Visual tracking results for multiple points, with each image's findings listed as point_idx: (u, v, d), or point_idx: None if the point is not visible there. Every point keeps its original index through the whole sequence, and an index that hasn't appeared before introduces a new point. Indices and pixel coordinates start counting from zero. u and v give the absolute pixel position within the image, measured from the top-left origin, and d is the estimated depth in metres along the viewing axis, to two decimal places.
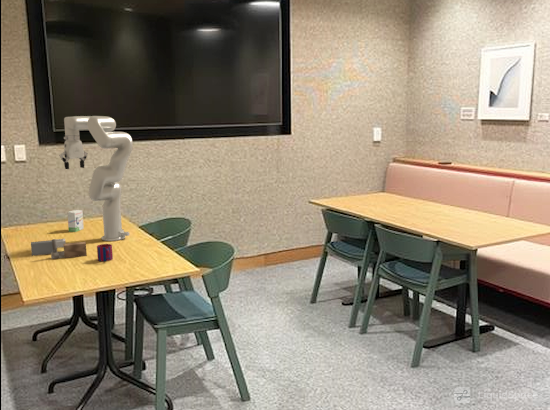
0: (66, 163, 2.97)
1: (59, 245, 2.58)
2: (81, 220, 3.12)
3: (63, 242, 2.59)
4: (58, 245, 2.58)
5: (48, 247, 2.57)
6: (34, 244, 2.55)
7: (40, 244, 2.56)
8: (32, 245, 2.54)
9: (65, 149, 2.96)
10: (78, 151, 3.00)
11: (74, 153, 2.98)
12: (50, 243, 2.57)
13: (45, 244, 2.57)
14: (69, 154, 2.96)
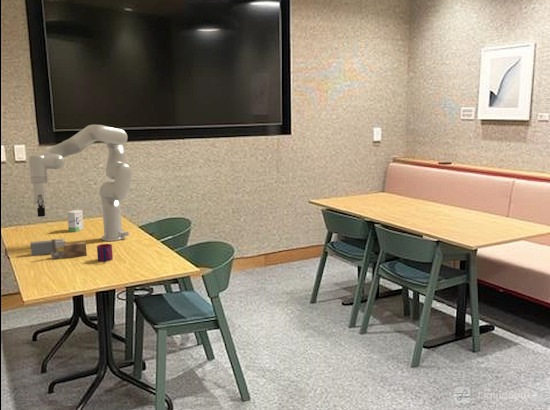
0: None
1: (59, 245, 2.58)
2: (81, 220, 3.12)
3: (63, 242, 2.59)
4: (58, 245, 2.58)
5: (48, 247, 2.57)
6: (34, 244, 2.55)
7: (40, 244, 2.56)
8: (32, 245, 2.54)
9: None
10: None
11: None
12: (50, 243, 2.57)
13: (45, 244, 2.56)
14: None
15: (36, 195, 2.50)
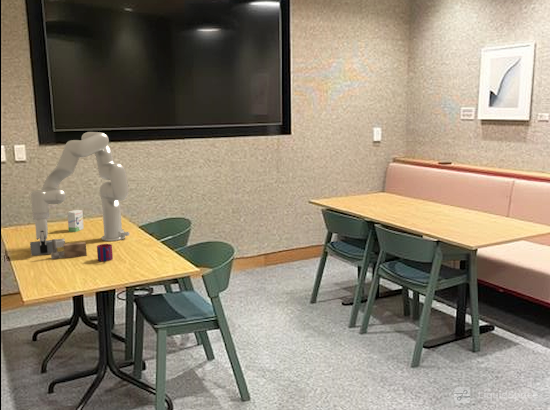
0: None
1: (58, 245, 2.58)
2: (81, 220, 3.12)
3: (62, 242, 2.59)
4: (57, 245, 2.58)
5: (47, 247, 2.57)
6: (33, 244, 2.55)
7: (39, 244, 2.56)
8: (31, 245, 2.54)
9: None
10: None
11: None
12: (49, 243, 2.57)
13: None
14: None
15: (38, 231, 2.52)
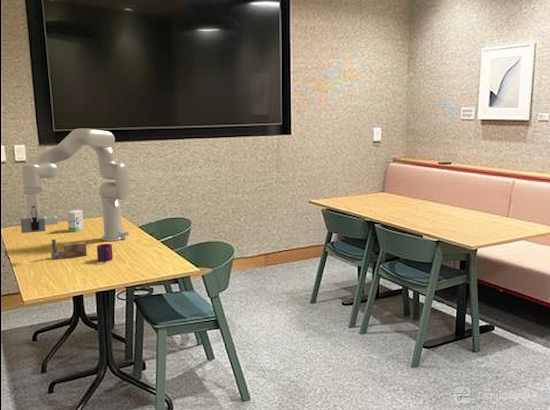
0: None
1: (51, 222, 2.44)
2: (81, 220, 3.12)
3: (55, 219, 2.45)
4: (50, 222, 2.44)
5: (39, 224, 2.43)
6: (24, 221, 2.41)
7: (30, 221, 2.42)
8: (22, 222, 2.40)
9: None
10: None
11: None
12: (41, 220, 2.43)
13: None
14: None
15: (29, 206, 2.38)
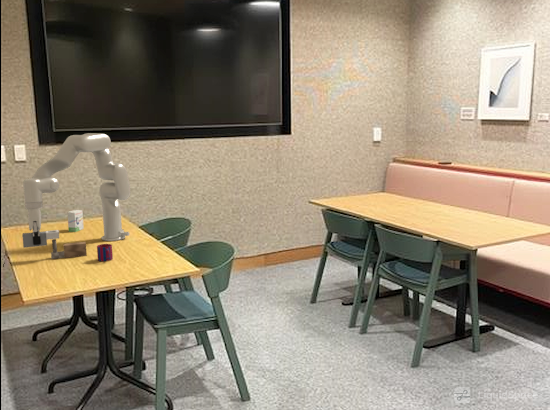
0: None
1: (52, 236, 2.46)
2: (81, 220, 3.12)
3: (56, 233, 2.46)
4: (51, 236, 2.46)
5: (41, 239, 2.45)
6: (26, 235, 2.42)
7: (32, 235, 2.43)
8: (24, 236, 2.42)
9: None
10: None
11: None
12: (43, 234, 2.45)
13: None
14: None
15: (31, 221, 2.39)
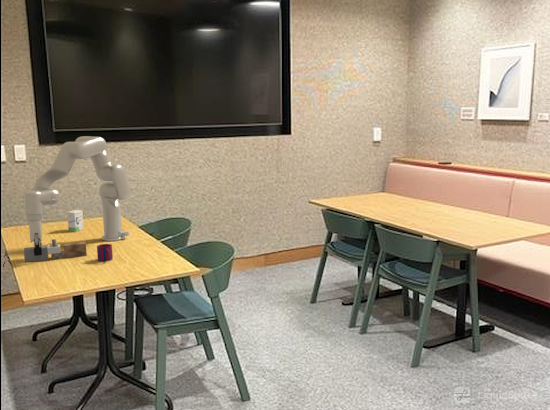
0: None
1: (53, 251, 2.47)
2: (81, 220, 3.12)
3: (58, 248, 2.47)
4: (52, 251, 2.47)
5: (42, 253, 2.46)
6: (27, 250, 2.43)
7: (33, 250, 2.44)
8: (25, 251, 2.43)
9: None
10: None
11: None
12: (44, 249, 2.46)
13: None
14: None
15: (32, 233, 2.40)
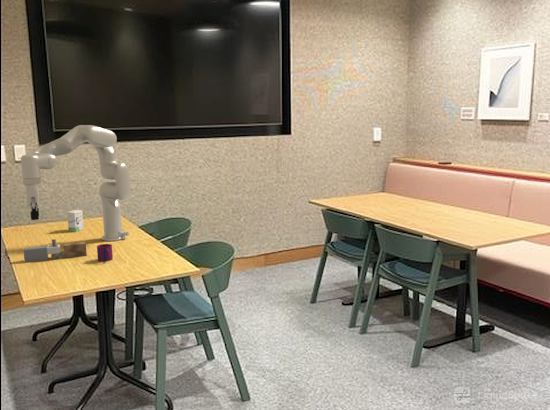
0: None
1: (53, 251, 2.47)
2: (81, 220, 3.12)
3: (57, 248, 2.47)
4: (52, 251, 2.47)
5: (42, 253, 2.46)
6: (27, 250, 2.43)
7: (33, 250, 2.44)
8: (25, 251, 2.43)
9: None
10: None
11: None
12: (44, 249, 2.46)
13: (38, 250, 2.45)
14: None
15: (29, 197, 2.37)
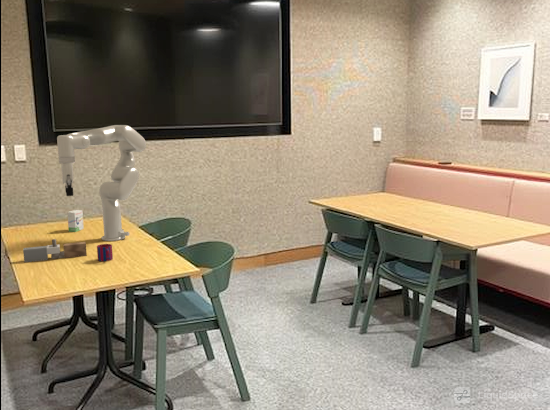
0: None
1: (53, 251, 2.47)
2: (81, 220, 3.12)
3: (57, 248, 2.47)
4: (52, 251, 2.46)
5: (41, 254, 2.46)
6: (26, 250, 2.43)
7: (33, 250, 2.44)
8: (24, 251, 2.43)
9: None
10: None
11: None
12: (43, 249, 2.46)
13: (38, 250, 2.45)
14: None
15: (65, 175, 2.54)
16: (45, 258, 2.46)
